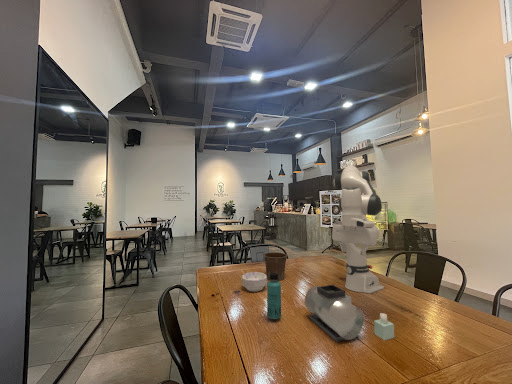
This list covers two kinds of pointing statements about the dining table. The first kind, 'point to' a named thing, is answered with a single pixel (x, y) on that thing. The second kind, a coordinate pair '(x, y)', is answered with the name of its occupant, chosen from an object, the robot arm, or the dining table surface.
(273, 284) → the beverage bottle
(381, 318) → the block
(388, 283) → the dining table surface
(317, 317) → the motor
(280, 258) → the plant pot
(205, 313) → the dining table surface
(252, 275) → the paper bowls
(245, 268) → the dining table surface
